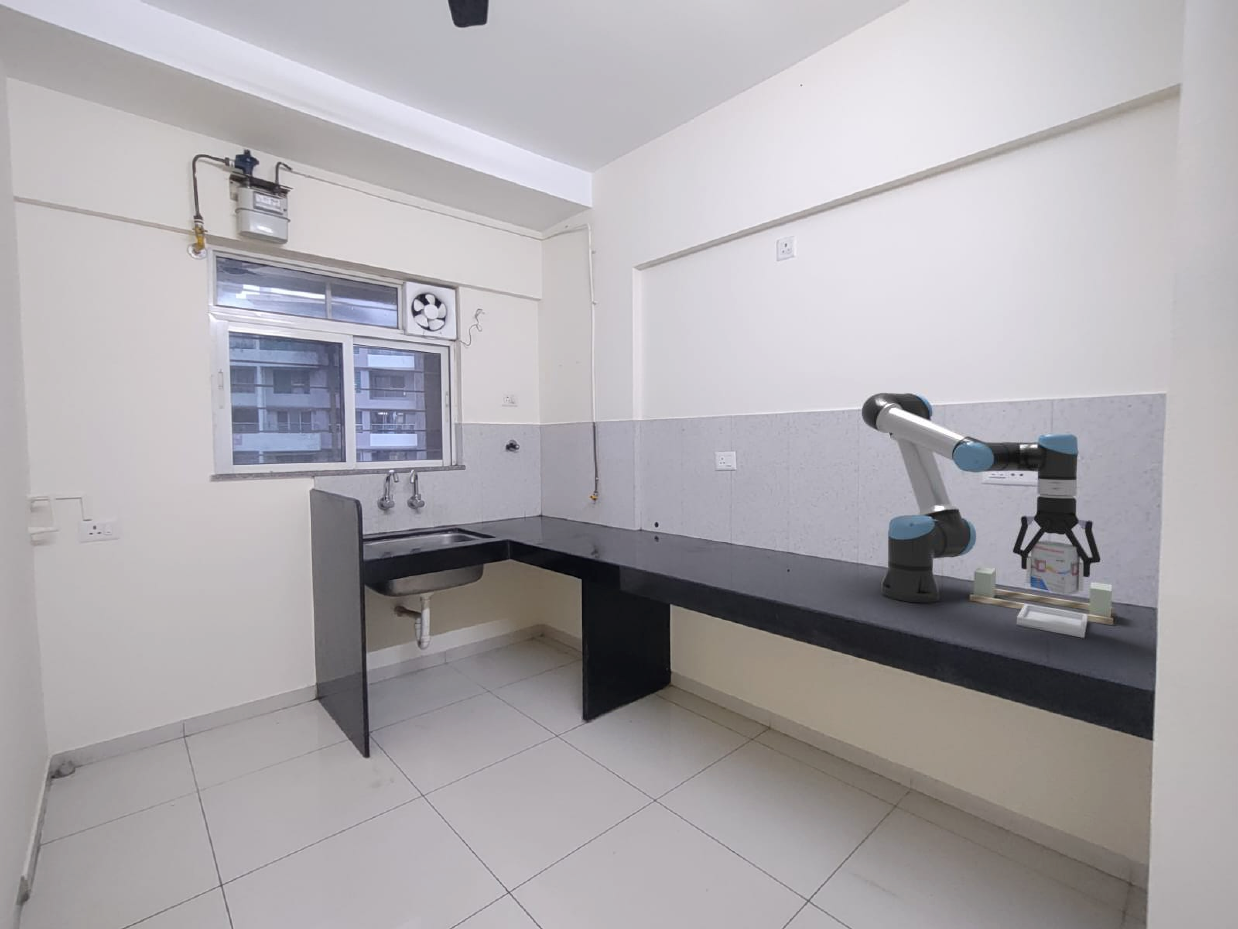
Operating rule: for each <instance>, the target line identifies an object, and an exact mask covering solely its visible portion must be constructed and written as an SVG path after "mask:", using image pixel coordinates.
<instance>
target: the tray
mask: <svg viewBox="0 0 1238 929" xmlns="http://www.w3.org/2000/svg"><path fill="white" fill-rule="evenodd" d="M1029 604H1030V603H1025V604H1024V606H1023V608H1022V609H1020V611H1019V613H1017V614H1018V615H1017V616H1016V626H1019V627H1020V626H1021V627H1025V628H1032V629H1036V630H1040V631H1041V630H1042V631H1047V632H1051V633H1057V634H1062V635H1067V636H1073V637H1078V638H1083V639H1084V638H1085V636H1086V630H1087V624H1088V621H1087V615H1088V614H1089V613H1084V614H1082V613H1083V612H1079V613H1076V612H1077V611H1073V612H1070V611H1071V610H1067V611H1064V610H1065V609H1061V610H1059V609H1060V608H1055V609H1053V608H1054V607H1053V608H1052V607H1049V608H1047V606H1043V607H1041V606H1042V605H1037V606H1035V605H1036V604H1031V605H1029Z"/></svg>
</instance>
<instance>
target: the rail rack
mask: <svg viewBox="0 0 1238 929" xmlns="http://www.w3.org/2000/svg"><path fill="white" fill-rule="evenodd" d="M995 596H1000V597H1007V598H1012V599H1020V600H1025V601H1032V602H1036V603H1044V604H1049V605H1055V606H1062V607H1070V608H1073V609H1080V610H1086V611H1089V605H1090V602H1088V603H1087V602H1082V601H1077V600H1075V601H1074V600H1068V599H1062V598H1055V597H1049V596H1043V595H1037V594H1036V595H1035V594H1030V593H1026V592H1025V593H1024V592H1018V591H1011V590H1005V589H999V588H995ZM969 601H970V602H977V603H982V604H988V605H994V606H998V607H1004V608H1011V609H1012V608H1013V609H1017V610H1021V609H1022V608H1023V606H1024V604H1026V603H1023V602H1017V601H1014V600H1013V601H1012V600H1008V599H1007V600H1005V599H1000V598H995V597H994V598H989V597H983V596H977V595H974V594H969ZM1028 604H1029V605H1032V604H1030V603H1028ZM1034 605H1035V606H1038V605H1037V604H1034ZM1040 606H1041V607H1044V606H1042V605H1040ZM1046 607H1047V606H1046ZM1047 608H1050V607H1047ZM1053 609H1056V608H1054V607H1053ZM1058 609H1059V610H1062V609H1060V608H1058ZM1063 610H1064V611H1068V610H1066V609H1063ZM1069 611H1070V612H1074V611H1072V610H1069ZM1075 612H1076V613H1080V611H1079V612H1077V611H1075ZM1081 613H1082V614H1085V613H1083V612H1081ZM1087 614H1088V615H1087V622H1091V623H1098V624H1103V625H1109V626H1113V625H1114V618H1113V617H1111V618H1108V617H1102V616H1096V615H1090V614H1089V613H1087ZM1111 615H1114V607H1112V606H1111Z"/></svg>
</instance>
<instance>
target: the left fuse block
mask: <svg viewBox="0 0 1238 929" xmlns="http://www.w3.org/2000/svg"><path fill="white" fill-rule="evenodd" d="M973 574H974V575H973V578H974V579H973V595H977V596H983V597H989V598H995V597H996V595H995V589H996V583H997V582H996V580H997V579H996V578H997V569H996V568H993V567H991V568H990V567H983V566H979V567H978V568H976V569H975V570H974V572H973Z"/></svg>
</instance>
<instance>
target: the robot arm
mask: <svg viewBox="0 0 1238 929" xmlns="http://www.w3.org/2000/svg"><path fill="white" fill-rule="evenodd" d="M932 417H933V407H932V405H931V404H930V402H929V400H928V399H927V398H925V397H924V396H922V395H918V394H916V393H909V392H908V393H906V392H905V393H895V392H894V393H890V392H879V393H875V394H873V395H871V396H870V397H869V398H868V397H867V399H866V400H865V401H864V403H863V404H862V407H861V418H862V420H863V421H864V423H865V424H866V425H867V426H868V427H869V428H872V429H874V430H876V431H878V432H879V433H884V434H889V436H890V439H891V440H893V441H895V442H897V444H898V447H899V451H900V453H901V454H900V455H901V457H902V460H903V463H904V466H905V469H906V470H905V471H906V473H907V475H908V479H909V481H910V484H911V488H912V491H913V494H914V498H915V499H916V503H917V506H918V509H919V513H918V514H910V515H909V514H907V515H898V516H896V517H894V518H892V519H890V521H889V524H888V531H887V535H888V538H887V539H888V541H887V544H888V545H887V547H888V548H887V559H888V560H887V569H886V572H885V574H884V576H883V579H882V581H881V584H880V593H881V594H882V595H883V596H884V597H888V598H891V599H894V600H898V601H904V602H911V603H934V602H937V601H939V600H940V588H939V587H938V583H937V581H936V578H935V575H934V568H933V567H934V559H941V558H942V559H943V558H944V559H945V558H955V557H959V556H960V557H961V556H963V555H964V556H965V555H966V554H968V553H969V552H971V551H972V550H973V547H974V546H975V544H976V541H977V532H976V529H975V527H974V524H973V523H971V521H969V520H967V519H966V518H964V517H962V514H961V512H960V509H959V508H958V507H956V506H954V505H952V504H951V501H950V498H949V495H948V492H947V489H946V486H945V483H944V481H943V478H942V474H941V471H940V469H939V467H938V464H937V461H936V458H935V455H934V453H935V454H937V455H940V456H941V457H944V458H946V459H949V460H951V461H952V462H954V465H956V467H957V468H958V469H959V470H961V471H963V472H968V473H969V472H971V473H981V472H983V473H984V472H1036V473H1037V487H1036V490H1037V493H1036V494H1038V495H1039V496H1038V497H1037V498H1036V513H1035V515H1034V516H1032V515H1031V516H1028V515H1022V516H1021V517H1020V524H1021V526H1020V529H1019V531H1018V535H1017V536H1016V540H1015V542H1014V546H1013V548H1012V553H1014V554H1016V555H1019V556H1020V558H1021V560H1020V561H1021V562H1020V563H1021V565H1020V568H1021V569H1022V570H1026V572H1025V573H1026V574H1025V575H1026V576H1025V577H1026V579H1025V580H1026V582H1025V583H1026V584H1031V555H1029V554H1031V550H1032V549H1033V547H1034V546H1035V545H1036V543H1037V542H1038V541H1041V540H1040V539H1041V538H1042V537H1043V536H1044V534H1045V533H1046V534H1050V535H1051V534H1057V535H1065V536H1066V538H1067V539H1068V541H1069V542H1070V544H1071V545H1073V546H1074V547H1076V551H1077V553H1078V555H1079V556H1080V559H1081V560H1082V561H1080V563H1079V592H1083V591H1084V579H1085V578H1089V577H1090V575H1091V565H1092V564H1096V563H1098V564H1099V563H1100V562H1101V556H1100V552H1099V548H1098V546H1097V543H1096V539H1095V536H1094V532H1093V525H1094V522H1093V521H1092V520H1090V519H1088V520H1083V519H1079V518H1078V517H1077V499H1076V496H1078V495H1077V491H1078V477H1077V474H1078V455H1079V449H1078V448H1079V447H1078V446H1079V444H1078V438H1077V436H1076V435H1074V434H1071V433H1067V434H1066V433H1065V434H1064V433H1062V434H1060V433H1056V434H1055V433H1053V434H1041V435H1039V436H1038V439H1037V441H1034V442H1019V441H1018V442H1014V441H1013V442H1010V441H1002V442H988V441H987V442H986V441H983V440H981V439H977V438H975V437H972V436H970V435H967V434H965V433H963V432H960V431H957V430H955V429H952V428H950V427H948V426H945V425H942V424H939V423H937V422H934V421H932ZM1033 522H1035V523H1036V524H1037V525H1038V526H1039V527H1040V528H1039V529H1038V531H1037V532H1036V533H1035V535H1034V536H1033V537H1032V539H1030V542H1029V543H1028V544H1027V546H1026V547H1025V548H1024V550H1023V549H1021V548H1022V545H1023V543H1024V539H1025V536H1026V534H1027V531H1028V528H1029V526H1030V525H1031V524H1032V523H1033ZM1077 525H1080V529H1081V530H1084V533H1085V534H1084V535H1085V538H1086V540H1087V544H1088V547H1089V550H1090V551H1089V552H1090V553H1091V556H1090V557H1089V555H1088V553H1087V552H1086V551H1085V549H1084V547H1083V546H1082V545H1081V543H1080V541H1079V540H1078V538H1077V537H1076V535H1075V533H1074V531H1073V529H1074V528H1075V527H1076V526H1077Z"/></svg>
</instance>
